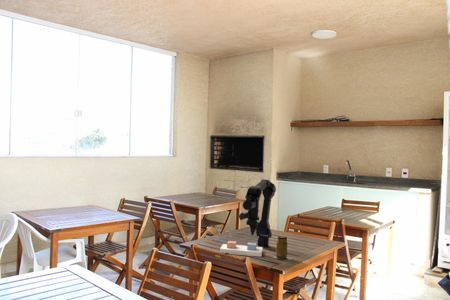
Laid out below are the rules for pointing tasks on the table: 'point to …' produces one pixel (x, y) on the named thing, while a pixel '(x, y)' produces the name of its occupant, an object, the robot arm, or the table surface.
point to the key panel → (241, 250)
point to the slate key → (251, 246)
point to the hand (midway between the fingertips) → (252, 234)
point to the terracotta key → (231, 244)
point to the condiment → (282, 248)
